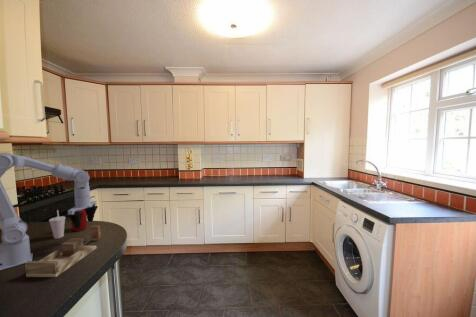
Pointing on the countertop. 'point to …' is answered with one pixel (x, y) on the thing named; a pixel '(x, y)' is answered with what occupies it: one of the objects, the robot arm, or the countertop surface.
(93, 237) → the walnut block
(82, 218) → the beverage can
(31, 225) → the countertop surface
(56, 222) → the smoothie
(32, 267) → the lane shelf
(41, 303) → the countertop surface
